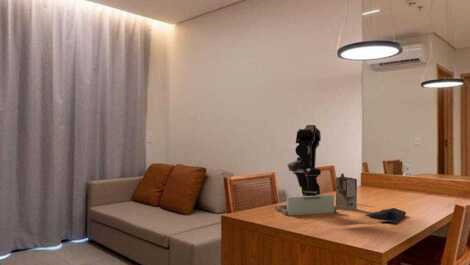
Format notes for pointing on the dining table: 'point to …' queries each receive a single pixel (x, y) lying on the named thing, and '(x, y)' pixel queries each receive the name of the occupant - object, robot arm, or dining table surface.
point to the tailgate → (310, 204)
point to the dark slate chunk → (388, 215)
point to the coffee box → (346, 193)
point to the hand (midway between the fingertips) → (304, 188)
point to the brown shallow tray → (284, 211)
